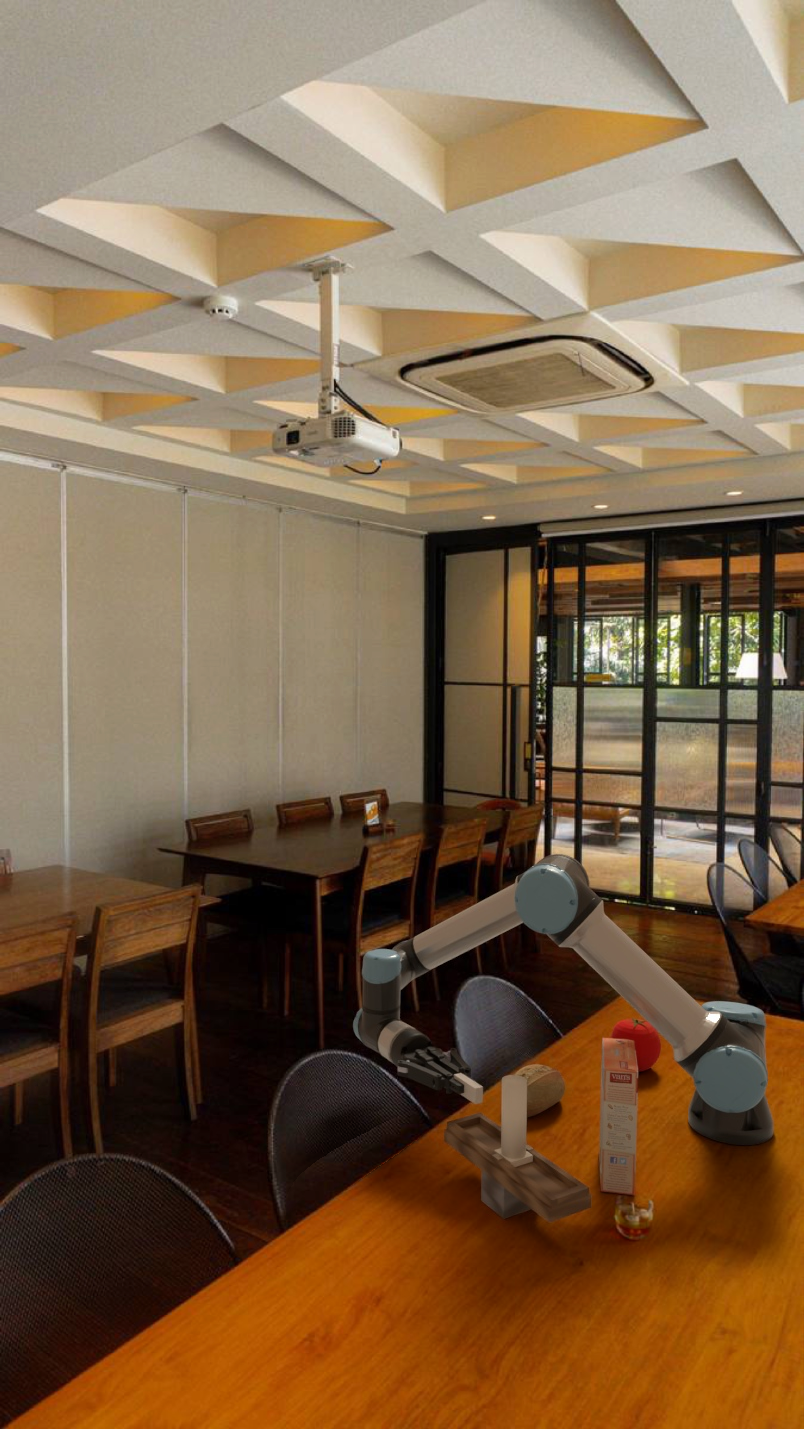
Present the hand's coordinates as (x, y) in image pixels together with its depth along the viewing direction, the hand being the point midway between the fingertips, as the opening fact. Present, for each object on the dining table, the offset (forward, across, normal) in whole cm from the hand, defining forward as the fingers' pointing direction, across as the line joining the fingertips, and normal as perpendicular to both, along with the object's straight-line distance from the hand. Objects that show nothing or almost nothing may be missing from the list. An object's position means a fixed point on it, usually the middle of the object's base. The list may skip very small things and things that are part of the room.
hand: (479, 1095), depth 159 cm
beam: (+9, 0, -14) cm, 17 cm away
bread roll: (-15, -25, -14) cm, 33 cm away
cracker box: (+11, -21, -14) cm, 28 cm away
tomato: (-19, -55, -14) cm, 60 cm away
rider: (+9, 0, -7) cm, 12 cm away
